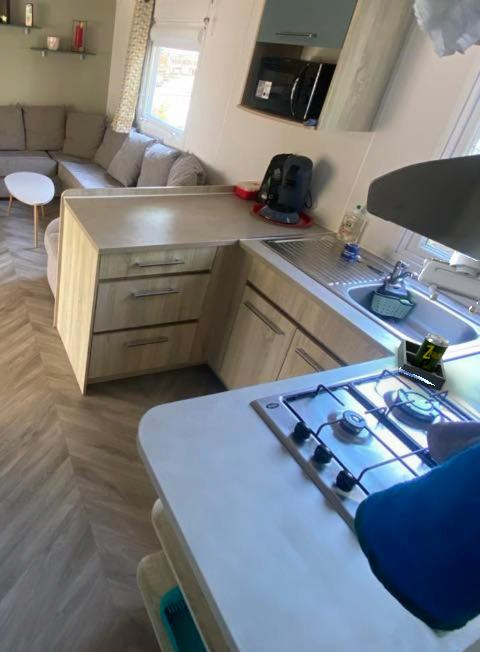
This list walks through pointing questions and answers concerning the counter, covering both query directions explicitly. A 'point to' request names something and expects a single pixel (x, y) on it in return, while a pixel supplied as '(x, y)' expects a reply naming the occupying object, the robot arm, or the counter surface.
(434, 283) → the robot arm
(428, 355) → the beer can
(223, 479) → the counter surface
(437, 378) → the caddy
